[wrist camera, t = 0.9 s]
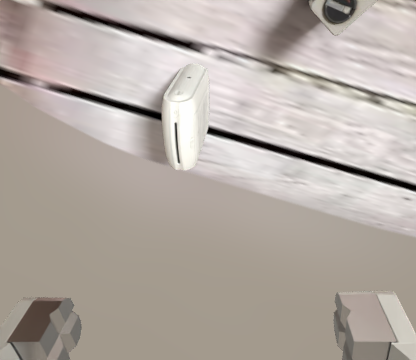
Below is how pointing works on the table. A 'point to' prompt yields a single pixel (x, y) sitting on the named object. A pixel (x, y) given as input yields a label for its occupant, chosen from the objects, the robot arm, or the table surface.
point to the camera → (339, 12)
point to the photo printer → (186, 116)
